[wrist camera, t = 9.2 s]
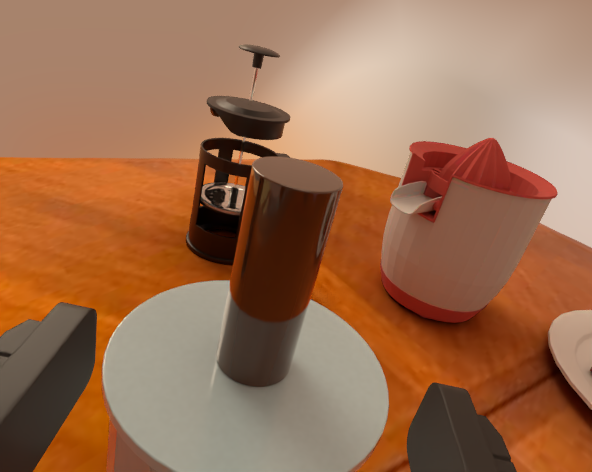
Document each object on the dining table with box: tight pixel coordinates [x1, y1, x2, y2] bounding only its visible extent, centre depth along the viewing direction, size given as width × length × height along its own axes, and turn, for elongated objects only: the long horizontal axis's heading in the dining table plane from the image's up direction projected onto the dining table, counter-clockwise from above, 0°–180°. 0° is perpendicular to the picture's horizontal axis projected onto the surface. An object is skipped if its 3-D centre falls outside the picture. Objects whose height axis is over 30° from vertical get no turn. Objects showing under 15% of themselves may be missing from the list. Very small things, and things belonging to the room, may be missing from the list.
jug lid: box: [102, 157, 389, 472], centre depth 19 cm, size 13×13×10 cm
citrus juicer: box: [381, 138, 557, 323], centre depth 51 cm, size 16×17×20 cm
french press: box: [186, 45, 290, 265], centre depth 51 cm, size 12×9×23 cm
